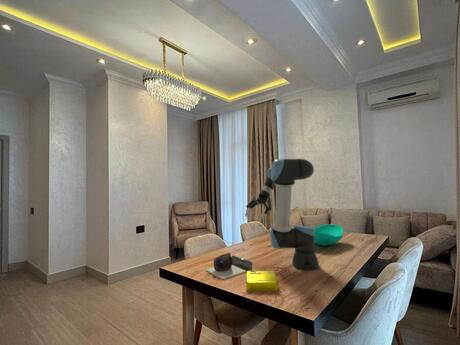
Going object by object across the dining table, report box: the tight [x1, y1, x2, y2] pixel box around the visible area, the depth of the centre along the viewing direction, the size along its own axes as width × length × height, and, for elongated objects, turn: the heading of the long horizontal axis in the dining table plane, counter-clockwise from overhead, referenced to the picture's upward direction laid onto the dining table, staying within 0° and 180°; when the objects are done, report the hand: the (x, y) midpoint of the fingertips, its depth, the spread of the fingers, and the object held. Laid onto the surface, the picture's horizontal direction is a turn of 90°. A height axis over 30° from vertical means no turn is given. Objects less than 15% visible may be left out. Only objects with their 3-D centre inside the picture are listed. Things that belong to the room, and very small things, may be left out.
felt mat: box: [205, 264, 247, 281], centre depth 132 cm, size 17×16×1 cm
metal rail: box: [231, 255, 253, 271], centre depth 139 cm, size 17×2×5 cm, turn 37°
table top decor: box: [313, 223, 345, 247], centre depth 185 cm, size 40×28×13 cm
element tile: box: [245, 270, 279, 292], centre depth 115 cm, size 15×15×5 cm
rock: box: [213, 252, 233, 271], centre depth 133 cm, size 12×9×10 cm
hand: (253, 216), depth 158 cm, fingers open, 13 cm apart
